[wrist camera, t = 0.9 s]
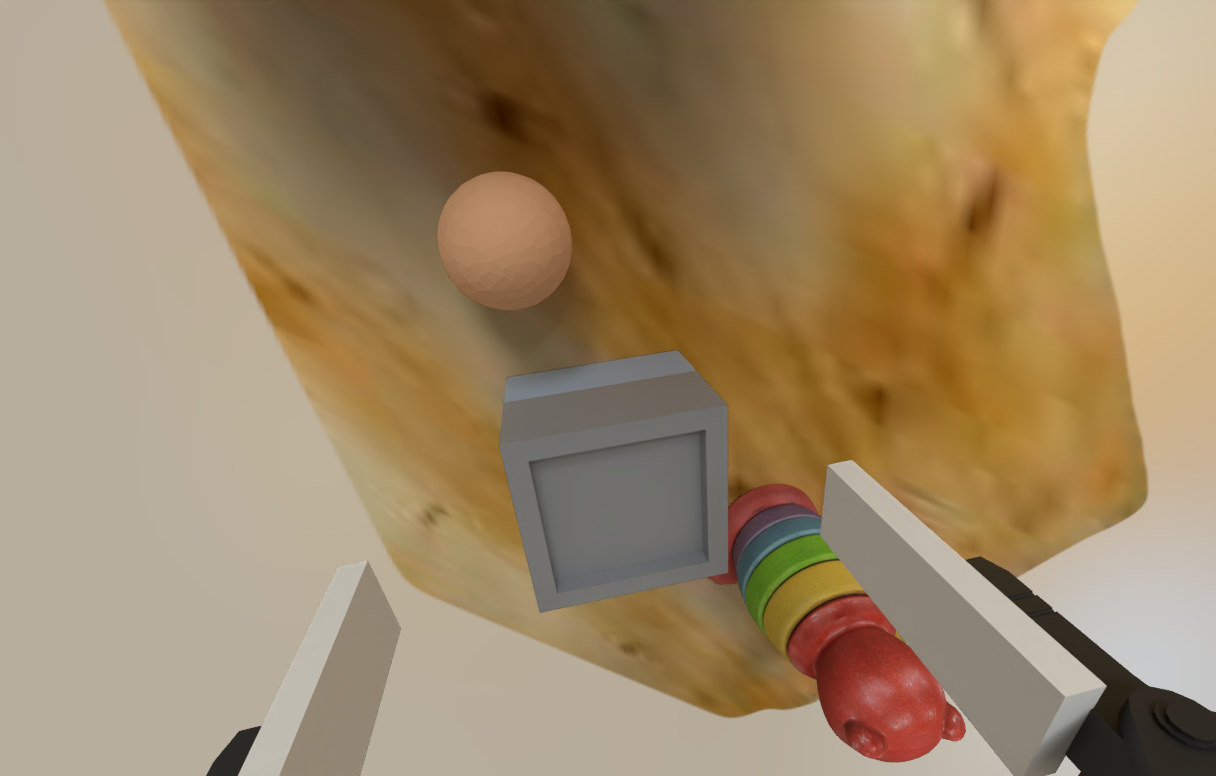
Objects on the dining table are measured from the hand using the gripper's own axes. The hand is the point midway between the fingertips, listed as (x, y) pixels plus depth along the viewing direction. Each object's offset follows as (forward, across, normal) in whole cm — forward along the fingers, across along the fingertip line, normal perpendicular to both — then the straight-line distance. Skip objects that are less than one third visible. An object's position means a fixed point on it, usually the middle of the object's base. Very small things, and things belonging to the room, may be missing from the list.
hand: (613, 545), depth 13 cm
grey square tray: (+19, +2, -8) cm, 21 cm away
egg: (+20, -2, +7) cm, 21 cm away
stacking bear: (+19, +14, -21) cm, 32 cm away
